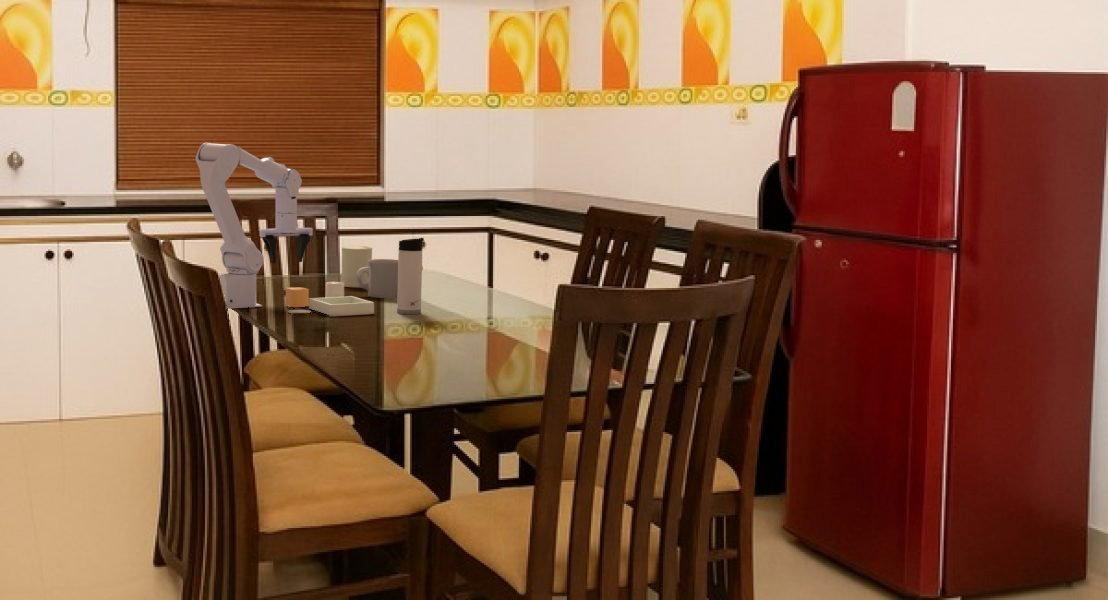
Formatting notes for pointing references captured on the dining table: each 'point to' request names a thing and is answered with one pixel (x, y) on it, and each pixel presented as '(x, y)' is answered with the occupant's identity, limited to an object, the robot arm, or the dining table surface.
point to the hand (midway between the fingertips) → (286, 262)
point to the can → (354, 264)
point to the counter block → (297, 297)
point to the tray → (341, 306)
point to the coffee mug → (380, 278)
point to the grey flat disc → (299, 311)
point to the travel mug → (409, 276)
